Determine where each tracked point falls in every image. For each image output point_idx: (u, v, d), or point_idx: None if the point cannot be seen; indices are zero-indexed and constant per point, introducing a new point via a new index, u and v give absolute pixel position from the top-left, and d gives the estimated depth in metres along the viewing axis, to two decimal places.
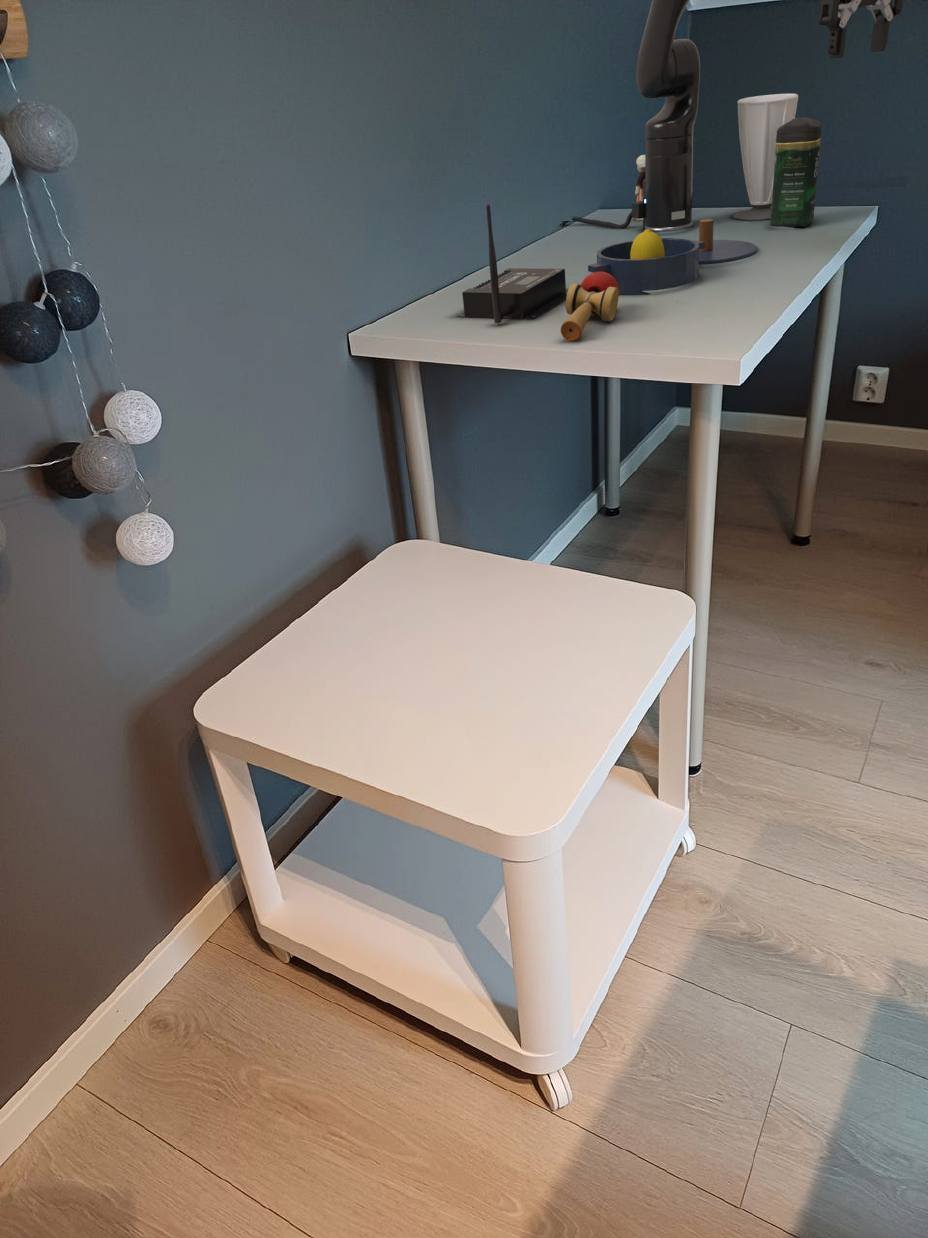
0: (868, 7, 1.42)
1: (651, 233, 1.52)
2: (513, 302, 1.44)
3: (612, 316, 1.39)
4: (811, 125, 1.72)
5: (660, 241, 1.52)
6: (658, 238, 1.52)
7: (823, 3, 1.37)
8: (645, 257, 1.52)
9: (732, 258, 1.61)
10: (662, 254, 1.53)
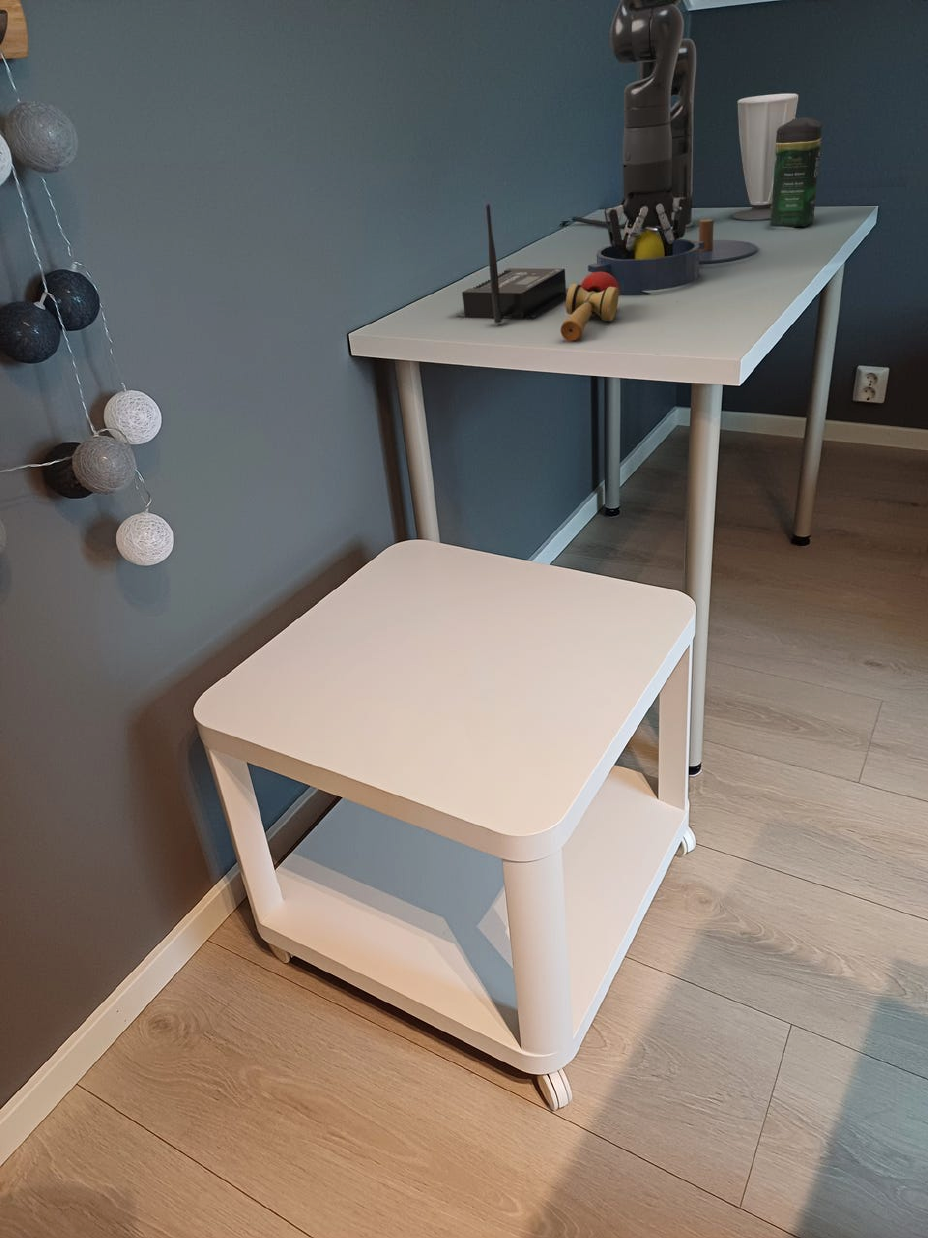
0: (655, 226, 1.54)
1: (651, 233, 1.52)
2: (513, 302, 1.44)
3: (612, 316, 1.39)
4: (811, 125, 1.72)
5: (660, 241, 1.52)
6: (658, 238, 1.52)
7: (608, 230, 1.52)
8: (645, 257, 1.52)
9: (732, 258, 1.61)
10: (662, 254, 1.53)
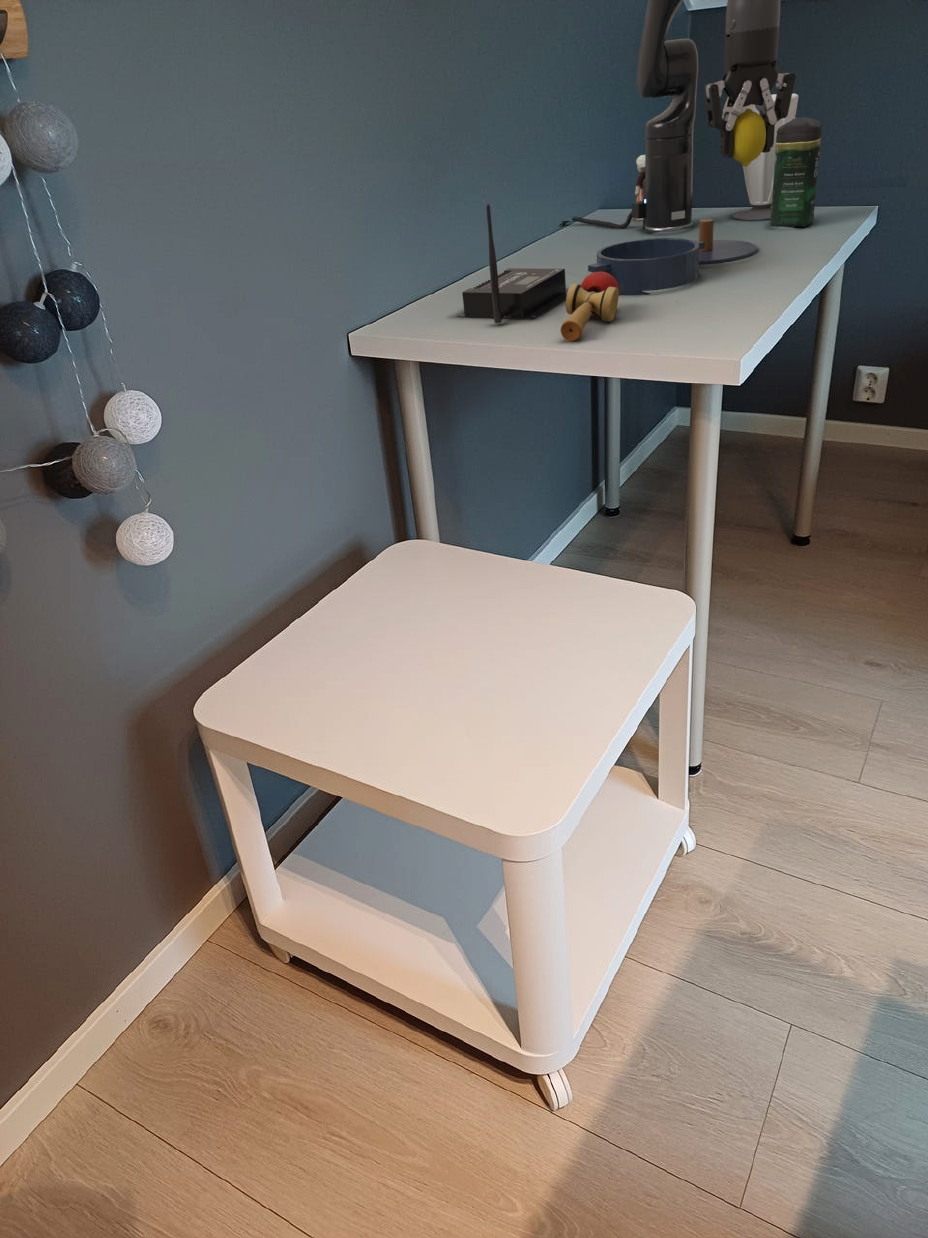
0: (756, 107, 1.44)
1: (753, 113, 1.42)
2: (513, 302, 1.44)
3: (612, 316, 1.39)
4: (811, 125, 1.72)
5: (762, 121, 1.42)
6: (760, 118, 1.42)
7: (707, 109, 1.42)
8: (746, 138, 1.42)
9: (732, 258, 1.61)
10: (764, 135, 1.43)
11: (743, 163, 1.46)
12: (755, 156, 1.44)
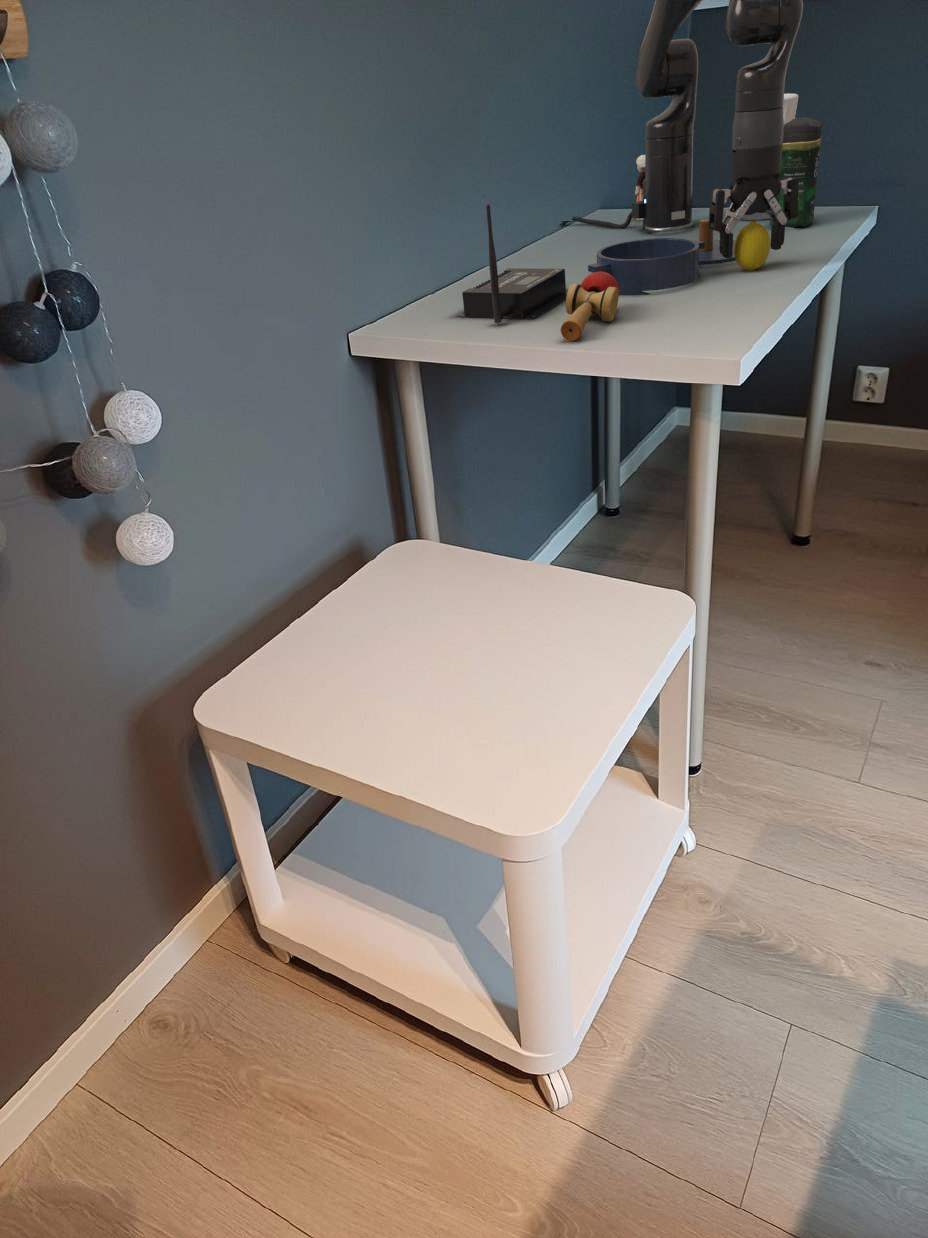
0: (765, 210, 1.51)
1: (758, 225, 1.50)
2: (513, 302, 1.44)
3: (612, 316, 1.39)
4: (811, 125, 1.72)
5: (766, 233, 1.50)
6: (765, 230, 1.50)
7: (710, 211, 1.49)
8: (751, 249, 1.50)
9: (732, 258, 1.61)
10: (768, 246, 1.51)
11: (748, 270, 1.54)
12: (760, 265, 1.52)
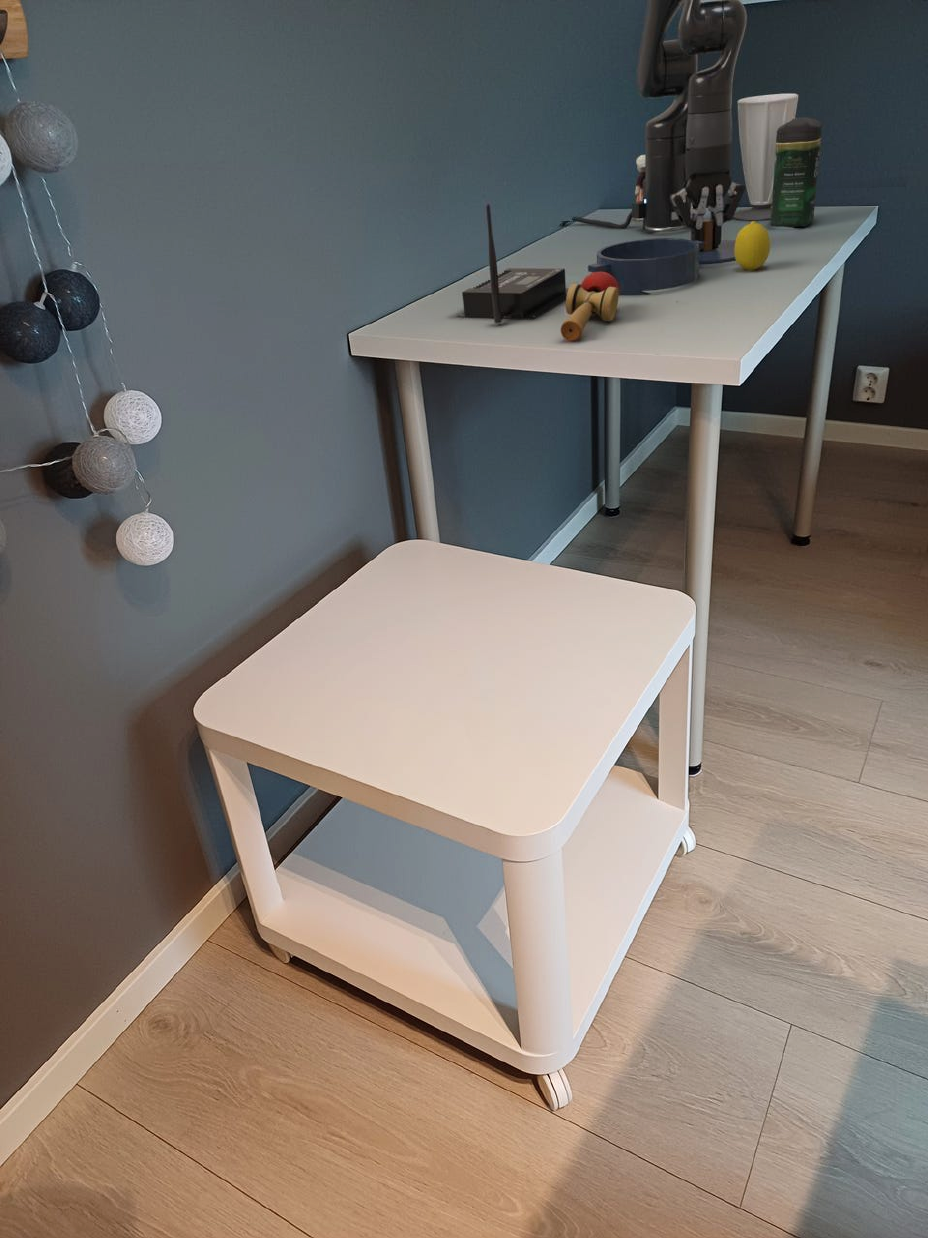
0: (708, 207, 1.66)
1: (758, 225, 1.50)
2: (513, 302, 1.44)
3: (612, 316, 1.39)
4: (811, 125, 1.72)
5: (766, 233, 1.50)
6: (765, 230, 1.50)
7: (677, 213, 1.64)
8: (751, 249, 1.50)
9: (732, 258, 1.61)
10: (768, 246, 1.51)
11: (748, 270, 1.54)
12: (760, 265, 1.52)
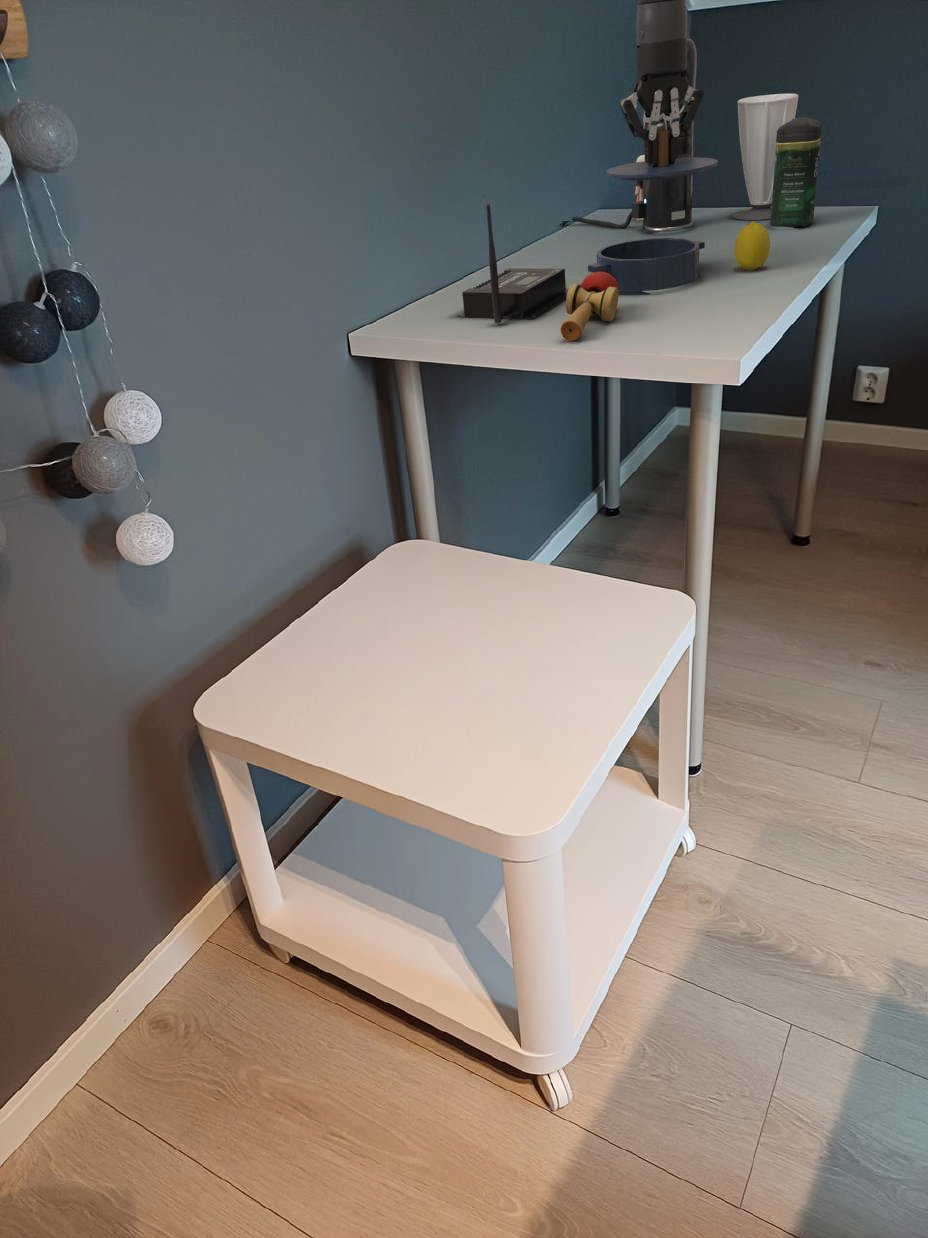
0: (663, 117, 1.48)
1: (758, 225, 1.50)
2: (513, 302, 1.44)
3: (612, 316, 1.39)
4: (811, 125, 1.72)
5: (766, 233, 1.50)
6: (765, 230, 1.50)
7: (627, 122, 1.46)
8: (751, 249, 1.50)
9: (689, 170, 1.43)
10: (768, 246, 1.51)
11: (748, 270, 1.54)
12: (760, 265, 1.52)
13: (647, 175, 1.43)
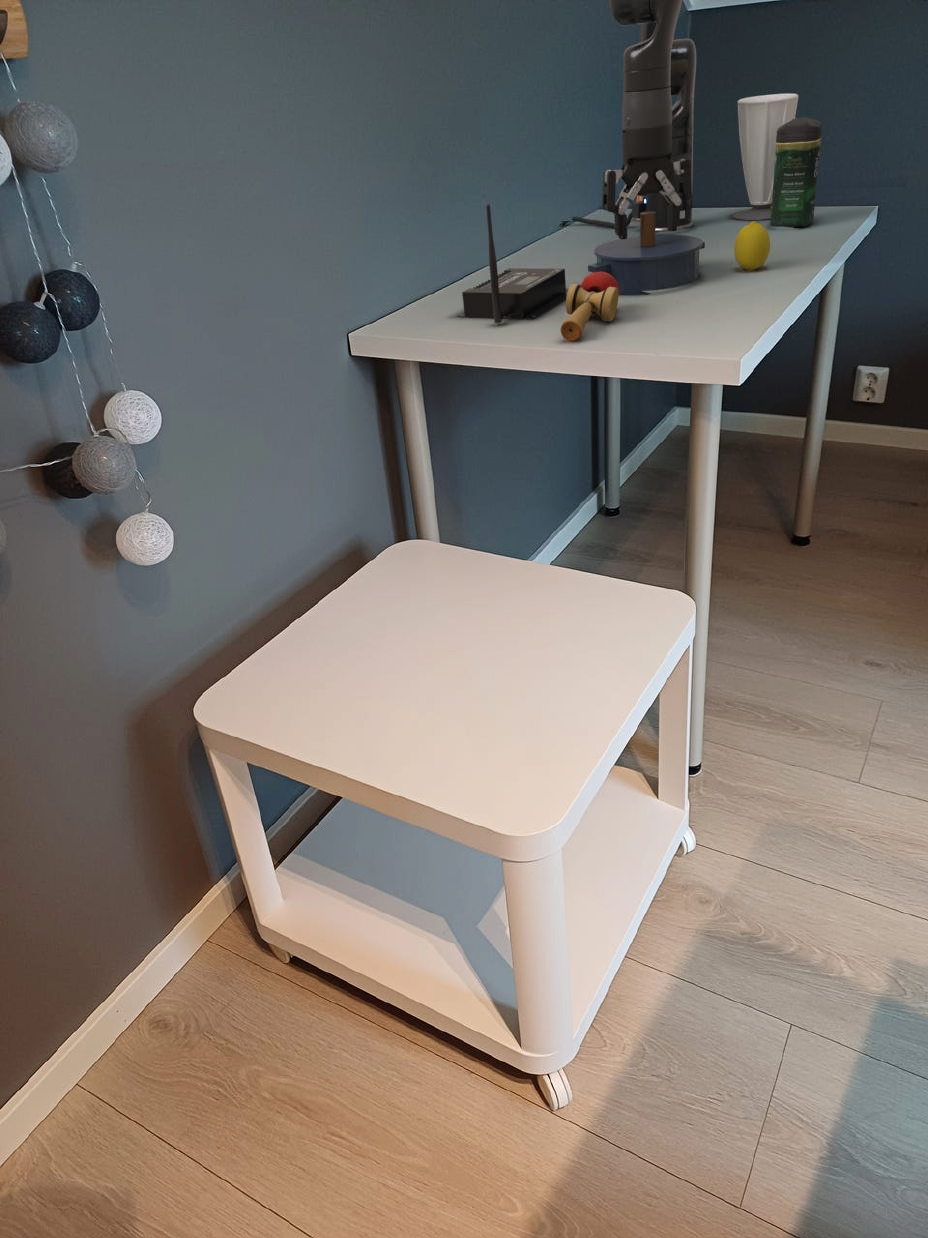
0: (660, 192, 1.51)
1: (758, 225, 1.50)
2: (513, 302, 1.44)
3: (612, 316, 1.39)
4: (811, 125, 1.72)
5: (766, 233, 1.50)
6: (765, 230, 1.50)
7: (603, 192, 1.49)
8: (751, 249, 1.50)
9: (674, 254, 1.47)
10: (768, 246, 1.51)
11: (748, 270, 1.54)
12: (760, 265, 1.52)
13: (633, 258, 1.47)
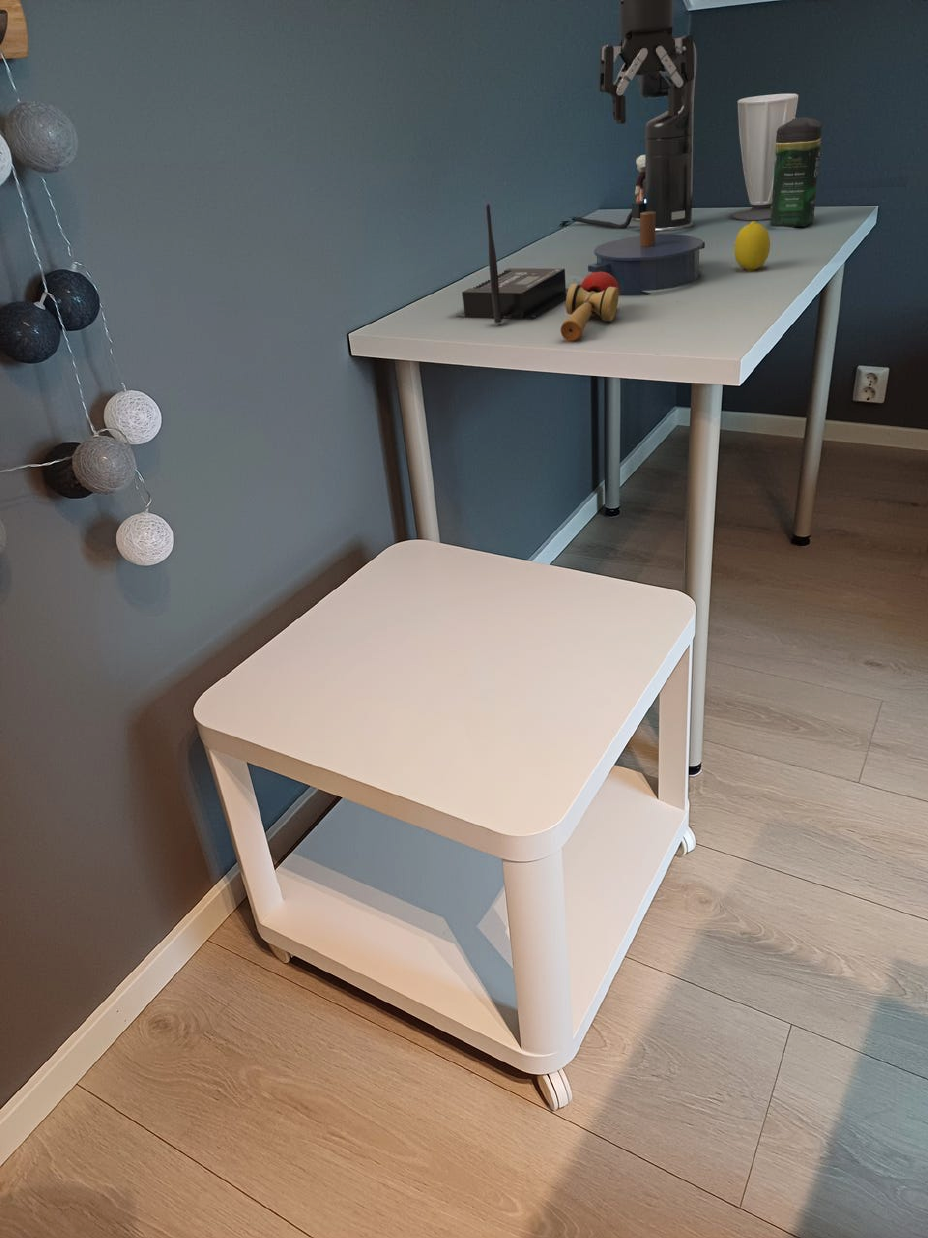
0: (660, 73, 1.43)
1: (758, 225, 1.50)
2: (513, 302, 1.44)
3: (612, 316, 1.39)
4: (811, 125, 1.72)
5: (766, 233, 1.50)
6: (765, 230, 1.50)
7: (600, 71, 1.40)
8: (751, 249, 1.50)
9: (674, 254, 1.47)
10: (768, 246, 1.51)
11: (748, 270, 1.54)
12: (760, 265, 1.52)
13: (633, 258, 1.47)
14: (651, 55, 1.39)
